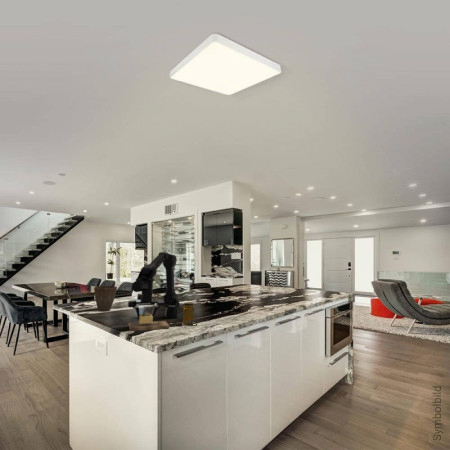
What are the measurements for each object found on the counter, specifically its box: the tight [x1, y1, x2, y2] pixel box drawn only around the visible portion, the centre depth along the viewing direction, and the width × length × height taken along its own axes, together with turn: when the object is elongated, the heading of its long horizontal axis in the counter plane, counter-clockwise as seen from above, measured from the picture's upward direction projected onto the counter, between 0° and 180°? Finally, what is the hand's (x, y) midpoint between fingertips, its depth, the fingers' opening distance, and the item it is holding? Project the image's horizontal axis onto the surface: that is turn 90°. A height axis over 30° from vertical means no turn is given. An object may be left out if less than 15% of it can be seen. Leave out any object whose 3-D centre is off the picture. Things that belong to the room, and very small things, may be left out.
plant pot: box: [93, 285, 118, 312], centre depth 206 cm, size 15×15×16 cm
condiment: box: [181, 302, 195, 327], centre depth 171 cm, size 7×8×12 cm
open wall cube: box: [138, 313, 154, 324], centre depth 160 cm, size 7×7×4 cm
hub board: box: [128, 310, 170, 332], centre depth 162 cm, size 20×12×8 cm, turn 111°
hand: (145, 319), depth 160 cm, fingers closed on open wall cube, 7 cm apart
